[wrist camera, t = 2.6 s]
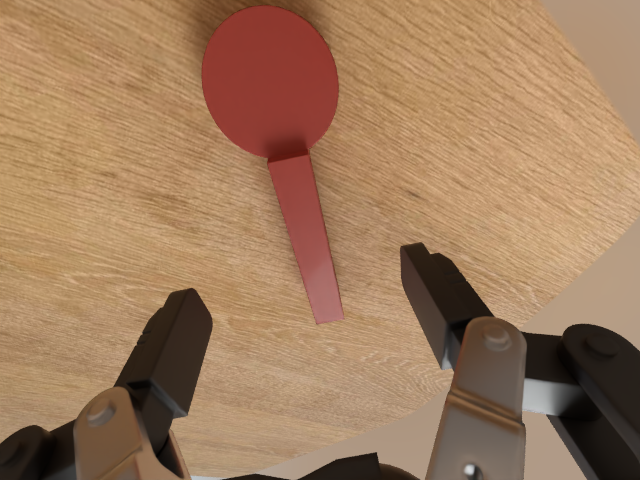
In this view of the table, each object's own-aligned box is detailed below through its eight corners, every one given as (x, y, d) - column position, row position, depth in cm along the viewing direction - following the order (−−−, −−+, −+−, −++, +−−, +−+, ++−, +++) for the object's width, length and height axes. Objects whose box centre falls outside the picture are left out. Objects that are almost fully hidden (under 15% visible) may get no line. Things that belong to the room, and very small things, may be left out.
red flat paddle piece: (364, 290, 24) (371, 314, 22) (290, 304, 24) (290, 329, 22) (322, -5, 13) (328, -16, 11) (188, 27, 13) (168, 23, 11)
